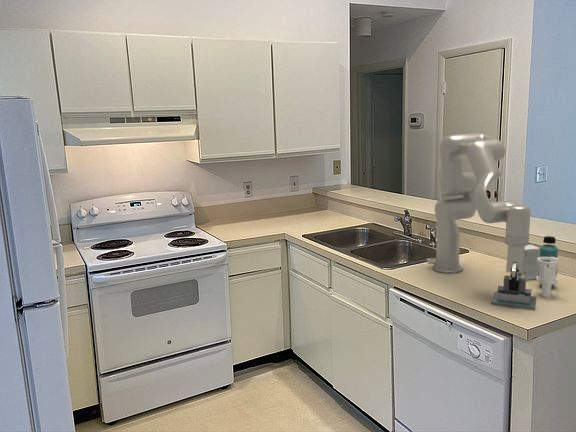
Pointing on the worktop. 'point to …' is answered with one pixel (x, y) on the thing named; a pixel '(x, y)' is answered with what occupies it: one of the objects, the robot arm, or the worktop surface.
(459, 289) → the worktop surface
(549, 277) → the clear white hollow cylinder
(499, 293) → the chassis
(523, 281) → the lever
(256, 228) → the worktop surface
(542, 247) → the beverage bottle
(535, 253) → the small box
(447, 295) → the worktop surface
